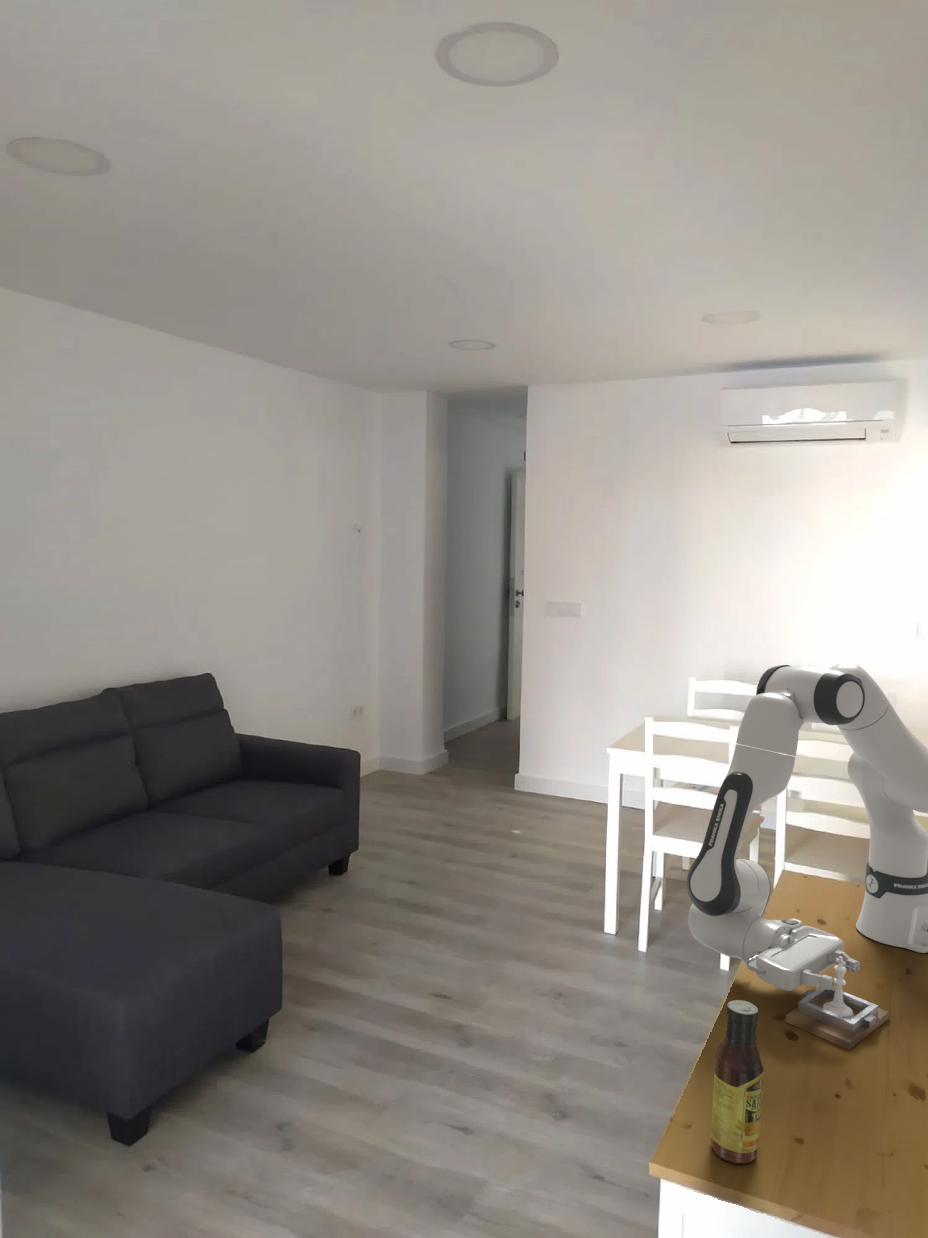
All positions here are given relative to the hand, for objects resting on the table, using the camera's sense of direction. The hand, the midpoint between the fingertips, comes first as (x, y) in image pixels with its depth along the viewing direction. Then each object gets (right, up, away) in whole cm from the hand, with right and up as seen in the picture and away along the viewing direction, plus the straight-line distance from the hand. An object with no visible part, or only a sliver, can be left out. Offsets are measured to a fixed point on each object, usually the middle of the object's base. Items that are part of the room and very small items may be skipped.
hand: (845, 976), depth 152 cm
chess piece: (-1, -7, +1) cm, 7 cm away
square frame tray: (-1, -7, +1) cm, 7 cm away
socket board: (-1, -8, +1) cm, 8 cm away
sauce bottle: (-29, -11, -33) cm, 45 cm away
